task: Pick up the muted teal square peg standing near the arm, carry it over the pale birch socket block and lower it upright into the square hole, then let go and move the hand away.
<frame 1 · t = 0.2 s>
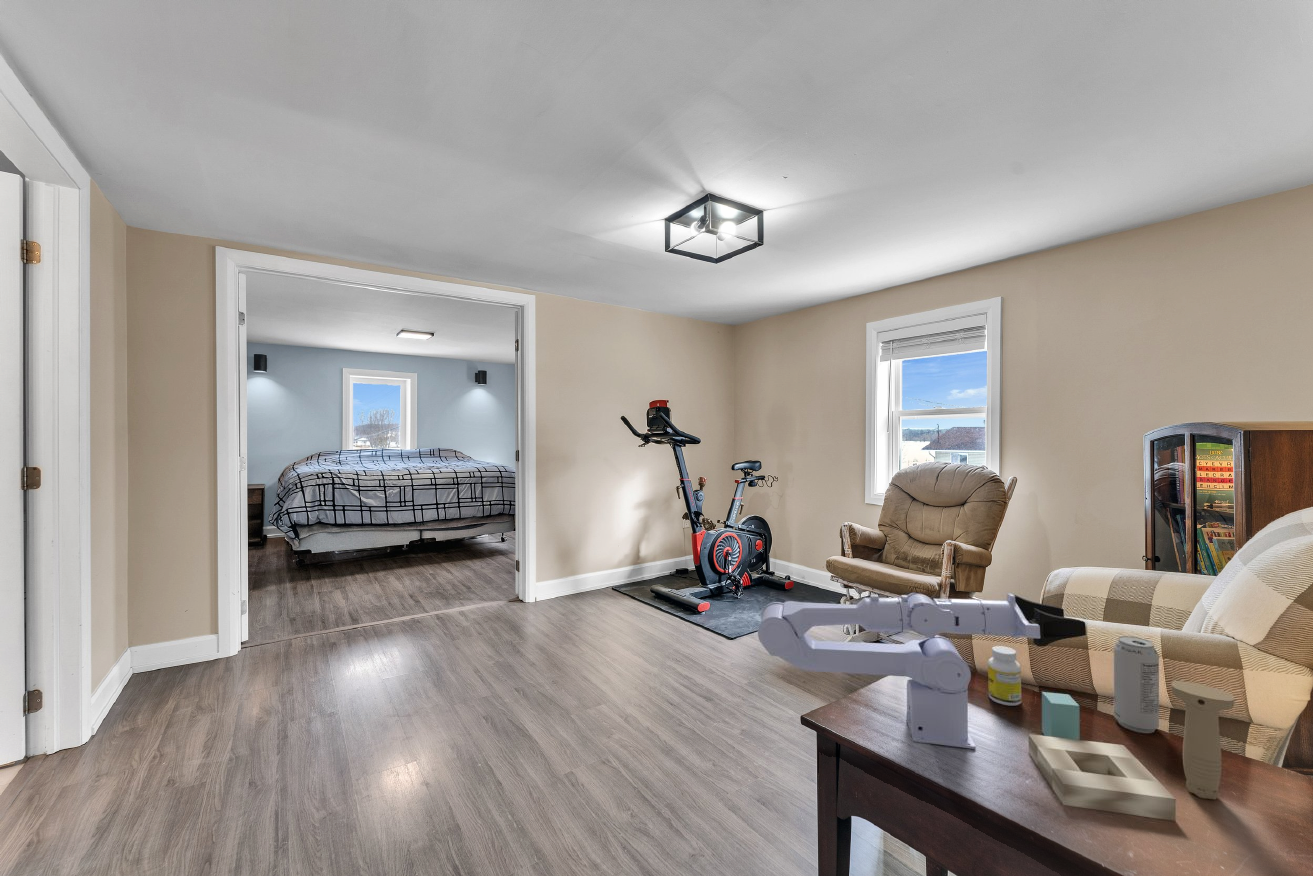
hand: (1073, 621, 91), 21 cm above the table, tool horizontal, fingers open, 7 cm apart
energy drink can: (1135, 726, 98), on the table
socket block: (1094, 783, 83), on the table
supplement bottle: (1004, 700, 108), on the table
handle: (1201, 795, 80), on the table
peg: (1060, 739, 94), on the table
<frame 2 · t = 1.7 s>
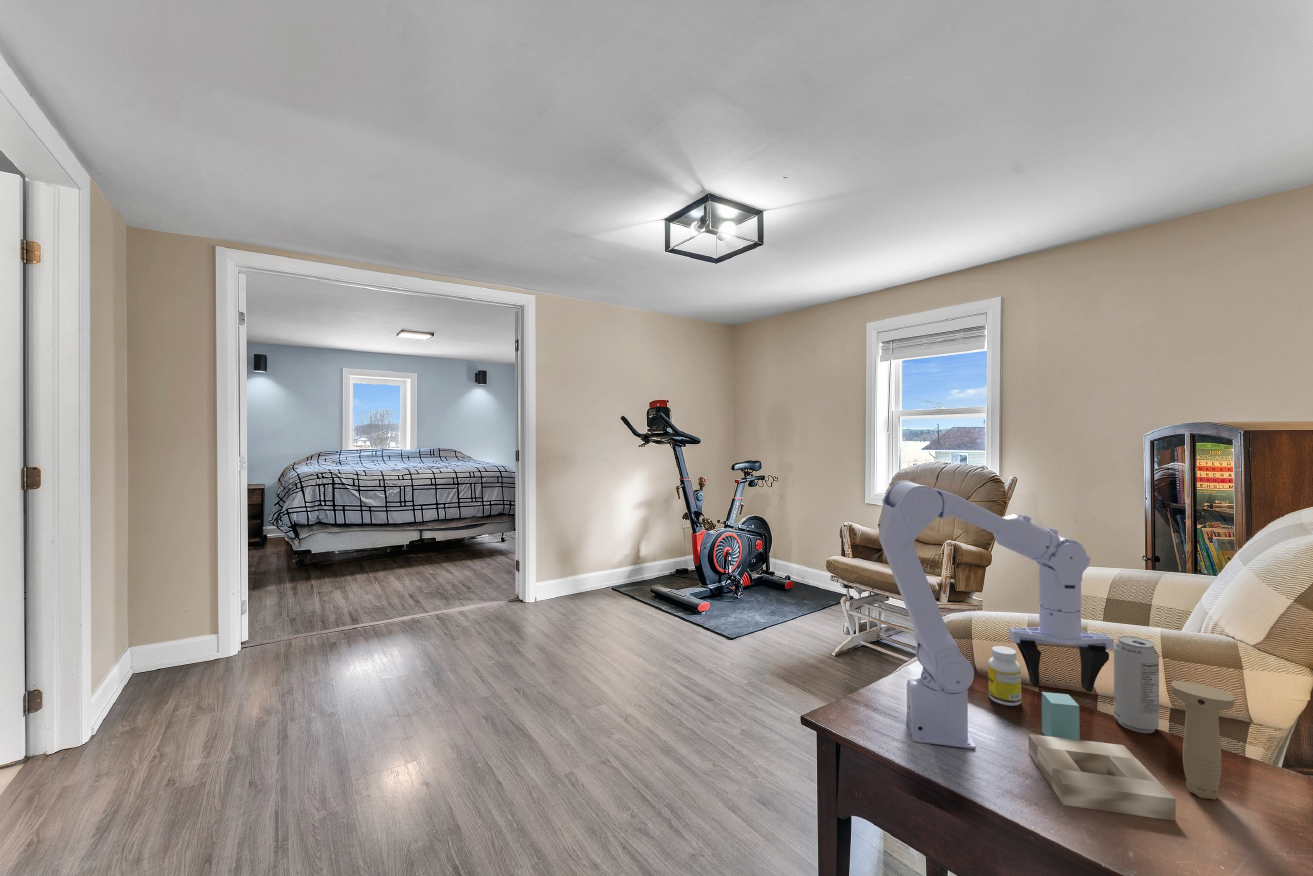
hand: (1060, 687, 94), 9 cm above the table, tool pointing down, fingers open, 7 cm apart
nothing on the table moved.
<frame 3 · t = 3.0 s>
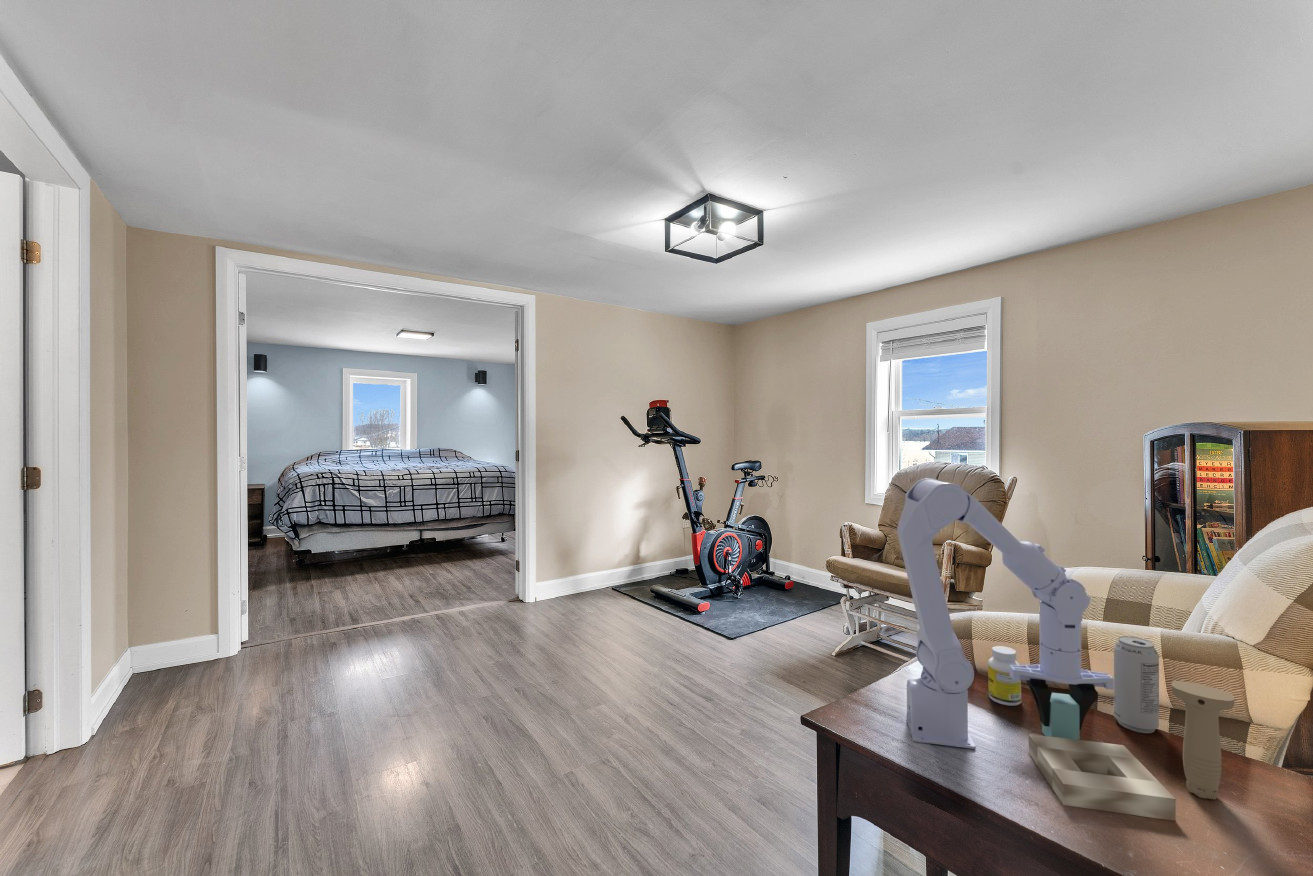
hand: (1060, 725, 94), 2 cm above the table, tool pointing down, fingers closed on peg, 4 cm apart
peg: (1060, 739, 94), on the table, touching gripper
everything else where it was.
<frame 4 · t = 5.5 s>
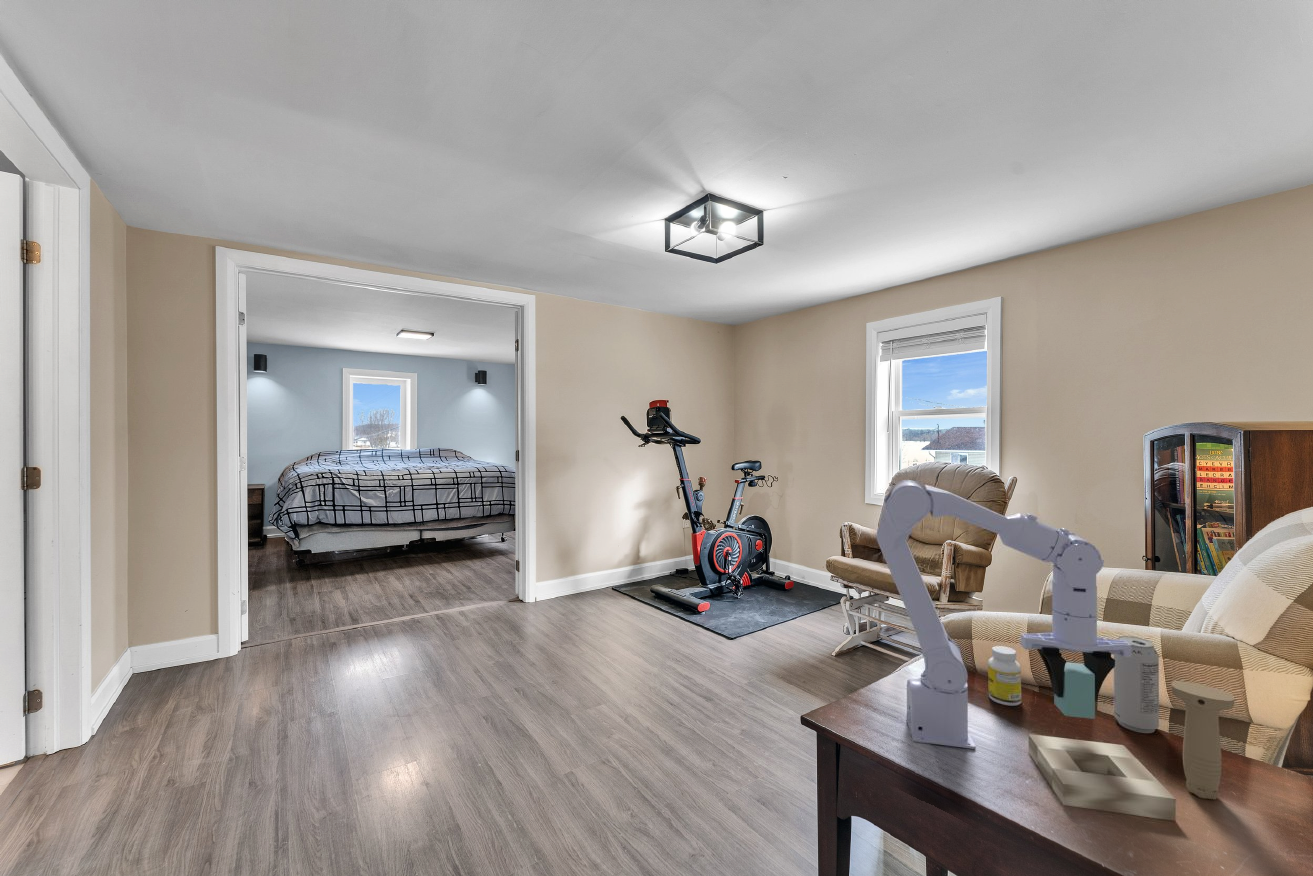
hand: (1074, 696, 89), 10 cm above the table, tool pointing down, fingers closed on peg, 4 cm apart
peg: (1074, 711, 89), point 7 cm above the table, touching gripper
everything else where it was.
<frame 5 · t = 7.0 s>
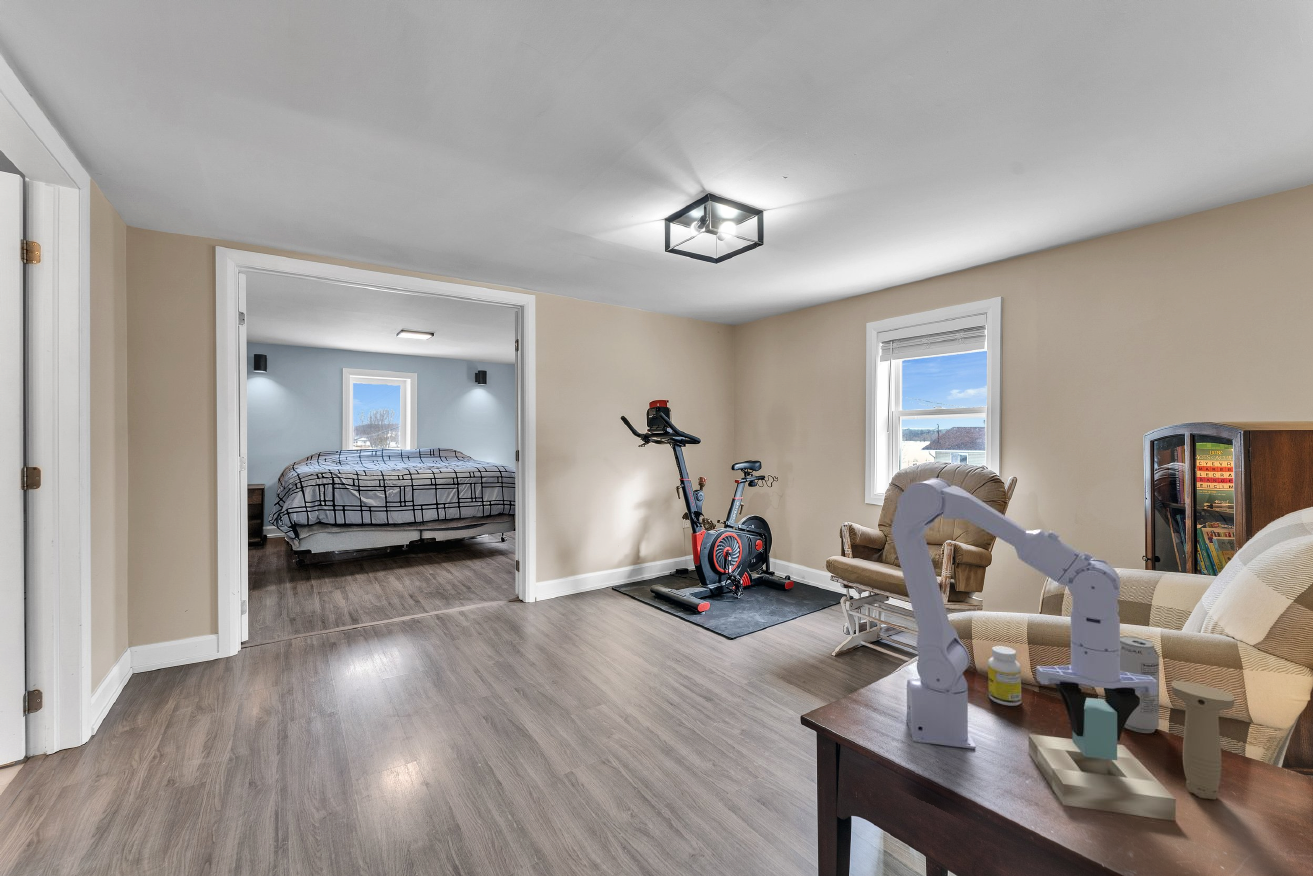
hand: (1095, 735, 82), 7 cm above the table, tool pointing down, fingers closed on peg, 4 cm apart
peg: (1094, 750, 83), point 5 cm above the table, touching gripper
everything else where it was.
when the fingers open (4 cm above the table, at t = 8.0 s): peg drops 2 cm, resting in socket block.
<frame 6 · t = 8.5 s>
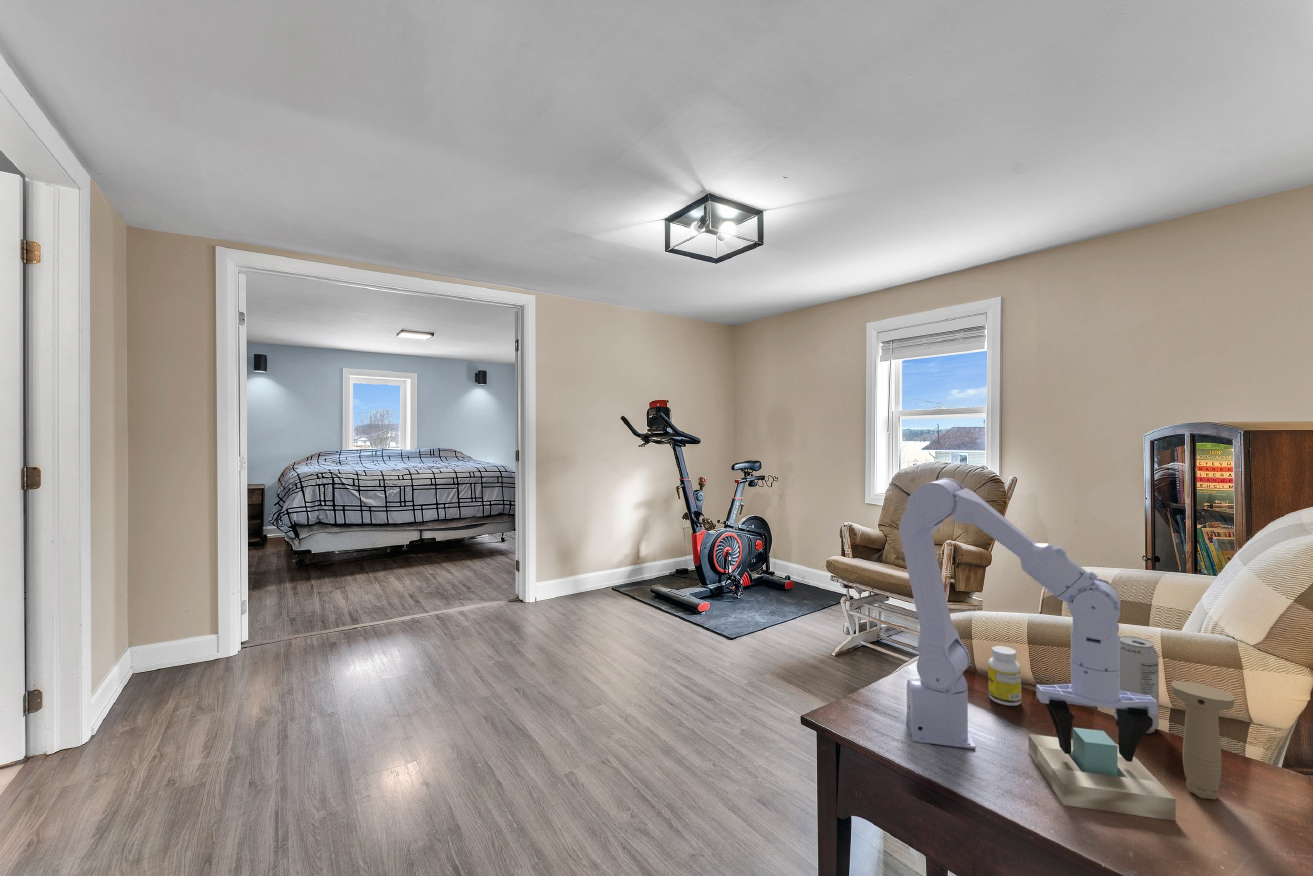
hand: (1094, 754, 83), 4 cm above the table, tool pointing down, fingers open, 7 cm apart
peg: (1094, 782, 83), resting in socket block
everything else where it was.
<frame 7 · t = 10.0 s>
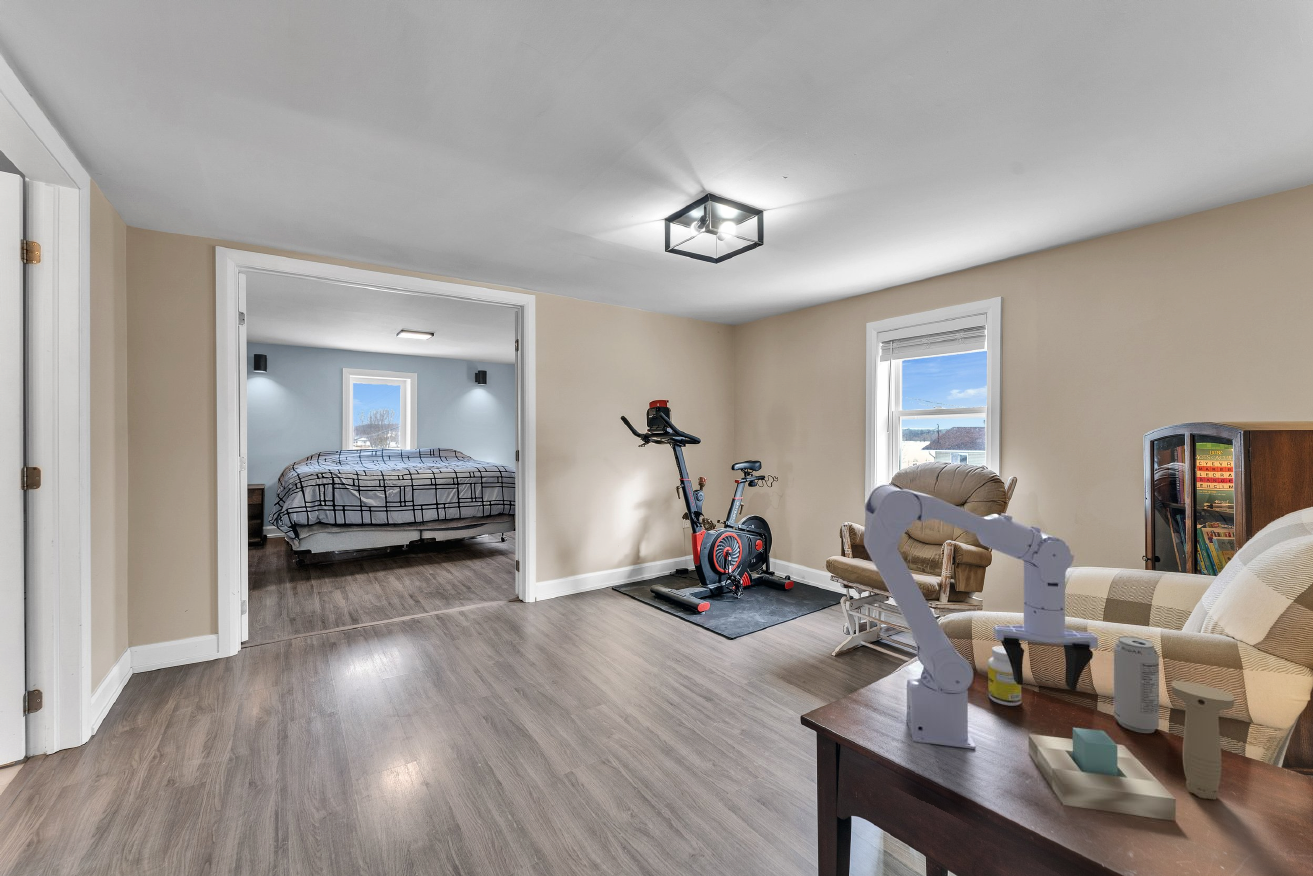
hand: (1044, 685, 94), 9 cm above the table, tool pointing down, fingers open, 7 cm apart
nothing on the table moved.
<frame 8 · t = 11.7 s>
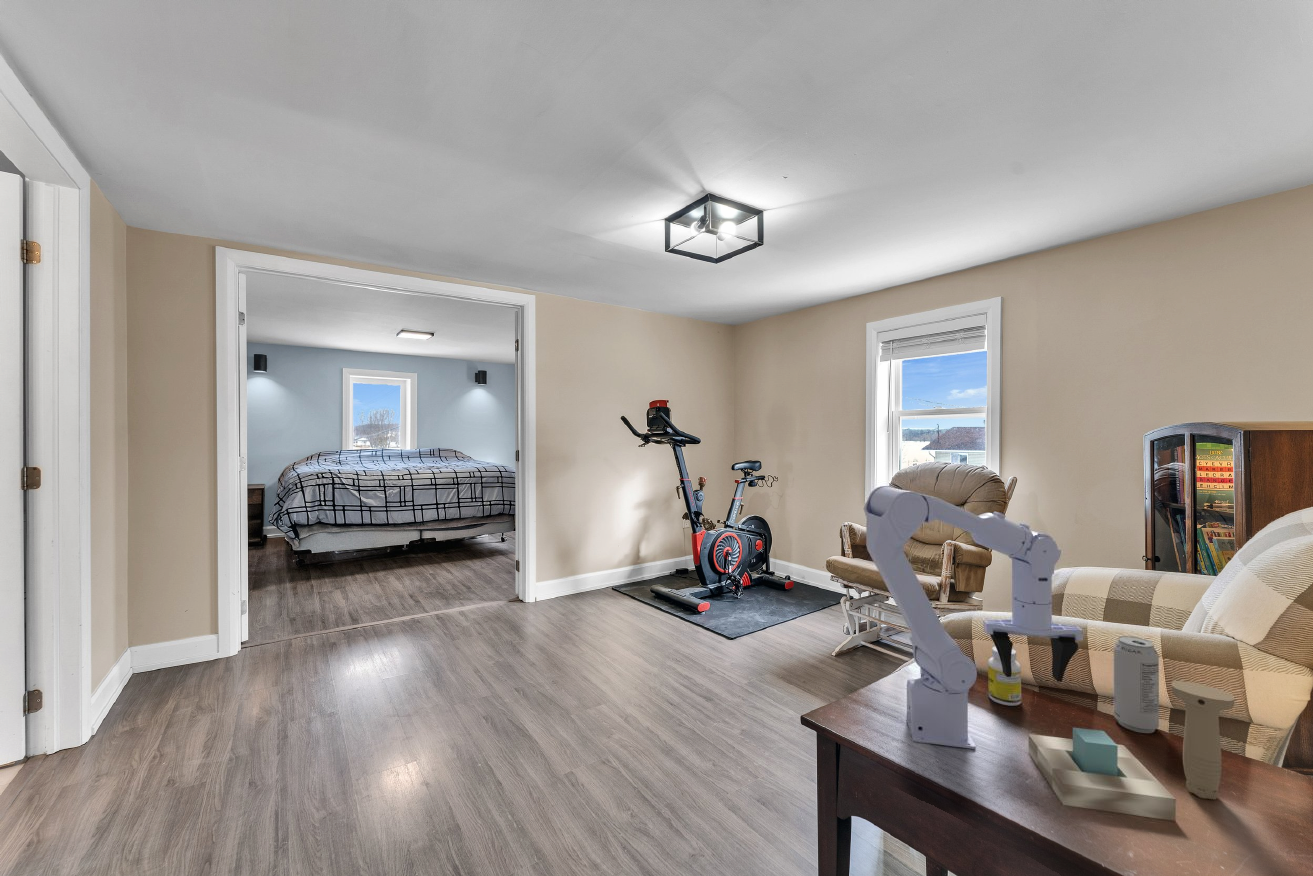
hand: (1031, 677, 97), 9 cm above the table, tool pointing down, fingers open, 7 cm apart
nothing on the table moved.
at the end: peg 0.2 cm off-centre on the socket block, point 0.0 cm above the socket block's base; peg tilted 0°; the gripper is holding nothing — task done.
